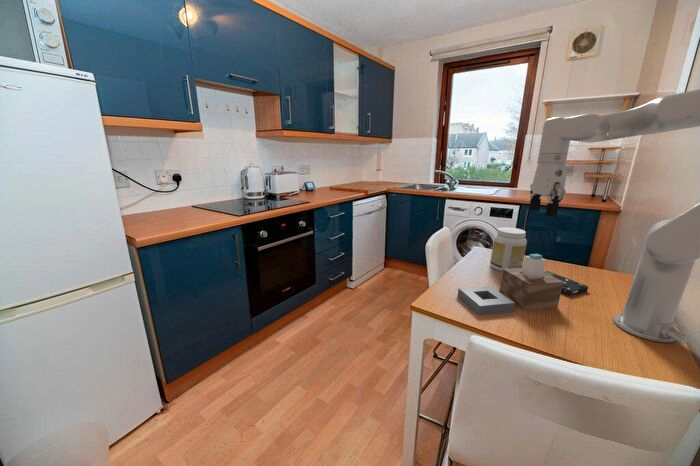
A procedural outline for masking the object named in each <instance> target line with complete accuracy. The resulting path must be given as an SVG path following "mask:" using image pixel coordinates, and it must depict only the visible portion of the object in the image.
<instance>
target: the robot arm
mask: <svg viewBox="0 0 700 466" xmlns="http://www.w3.org/2000/svg"><path fill="white" fill-rule="evenodd" d="M698 127H700V88H698V89H693V90H690V91H684V92H679V93H676V94H675V93H674V94H669V95H666V96H661V97H659V98H656V99H653V100H650V101H649V102H647V103H645V104H642V105H640V106H637V107H634V108H631V109H627V110H623V111H619V112H614V113H609V114H603V115H599V114H597V113H584V114H580V115H575V116H574V115H573V116H559V117H556V116H555V117H551V118H547V119H546V120H545V121H544V123H543V127H542V133H541V138H540V145H539V151H538V156H537V163H536V164H537V166H536V170H535V172H534V173H535V174H534V177H533V181H532V183H531V184H530V186H529V187H530V192H529V193H530V196H529V197H530V200H529V207H528V210H529V211H540V209H541V203H542V199H541V197H547V200H548V202H547V204H546V208H545V214H544V215H545V216H546V217H557V216H558V210H559V207H560V206H559V205H560V204H561V203H562V200H563V199H564V196H565V194H566V192H567V191H566V189H565V186H566V181H567V180H566V179H567V164H566V163H567V159H568V154H569V149H570V145H571V144H570V143H571V142H581V143H587V144H592V143H599V142H605V141H607V142H608V141H611V140H613V141H614V140H620V139H625V138H631V137H638V136H647V135H654V134H659V133H665V132H671V131H678V130H683V129H691V128H698ZM643 241H644V242H643V247H642V249H641V254H640V257H639V260H638V263H637V266H636V271H635V272H634V277H633V280H632V283H631V287H630V289H629V291H628V296H627V298H626V302H625V305H624V308H623V312H622V313H617V314H615V315H614V316H613V319H612V320H613V322H614V324H616V326H617V327H619V328H620V329H622V330H623V331H626V332H627V333H630V334H631V335H634V336H637V337H639V338H642V339H645V340H649V341H653V342H659V343H673V342H677V343H679V344H681V345H685V344H686V343H688V341H689V340H688V338H689V335H688V334H687V333H684V332H682V331H680V330H678V328H677V327H678V323H677V322H674V319H675V318H676V314H677V311H678V309H679V306H680V303H681V300H682V298H683V295H684V292H685V289H686V286H687V285H688V283H689V279H690V276H691V274H692V271H693V268H694V265H695V261H696V260H699V259H700V199H698V201H697V202H696V204H695V205H694V206H692V207H690V208H689V209H687V210H685V211H684V212H681V214H679V215H677V216H675V217H674V218H669V219H664V220H661V221H659V222H657V223H655V224H653V225H652V226H651V227H650V228H649V230H648V231H647V233H646V235H645V238H644V240H643Z"/></svg>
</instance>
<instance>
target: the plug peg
mask: <svg viewBox="0 0 700 466" xmlns="http://www.w3.org/2000/svg"><path fill="white" fill-rule="evenodd" d="M546 261H547V260H546V259H545V258H543V255H542V254H539V253H529V255H524V260H523V265H522V268H523V270H522V274H523V275H525V276H526V277H528V278H530V279H539V278H542V276H543V272H545V271H544V270H545V267H546V266H545V265H546Z"/></svg>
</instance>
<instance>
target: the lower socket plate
mask: <svg viewBox="0 0 700 466" xmlns="http://www.w3.org/2000/svg"><path fill="white" fill-rule="evenodd" d="M457 297H458V298H459V299H460V300H461V301H462V302H464V303H465V304H466V305H467V306H468V308H471V309H472V310H473V311H474V312H475V313H476V314H477V315H478V316H480V315H489V314H490V315H491V314H500V313H512V312H515V305H516V304H515V302H513V301H512V300H510V299H509V298H507V297H506V296H504V295H503V294H502V293H500V292H499V290H498V289H496V288H494V287H493V286H492V285H478V286H466V287H458V289H457Z"/></svg>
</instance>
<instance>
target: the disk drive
mask: <svg viewBox="0 0 700 466" xmlns="http://www.w3.org/2000/svg"><path fill="white" fill-rule="evenodd" d="M544 272H545V273H547V274H549V275H551V276H553V277H555V278H557V279H559V280H561V281H563V287H562V291H561V295H564V296H567V297H571V296H572V297H573V296H577V295H579V294H584V293H587V292H588V289H589V286H588V285H586V284H584V283H581V282H579V281H575V280H573V279H570V278H568V277H565V276H561V275H559V274H556V273H554V272H552V271H549V270H547V271H544Z"/></svg>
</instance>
